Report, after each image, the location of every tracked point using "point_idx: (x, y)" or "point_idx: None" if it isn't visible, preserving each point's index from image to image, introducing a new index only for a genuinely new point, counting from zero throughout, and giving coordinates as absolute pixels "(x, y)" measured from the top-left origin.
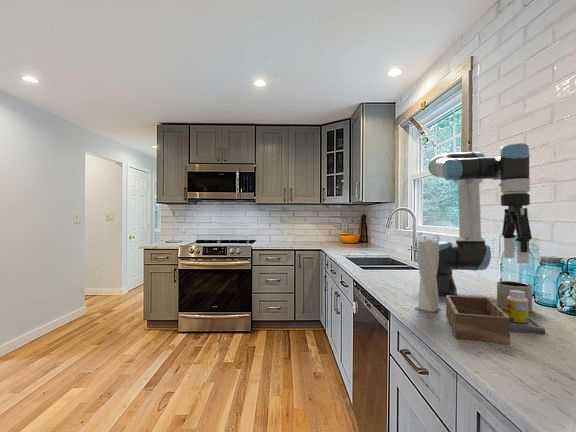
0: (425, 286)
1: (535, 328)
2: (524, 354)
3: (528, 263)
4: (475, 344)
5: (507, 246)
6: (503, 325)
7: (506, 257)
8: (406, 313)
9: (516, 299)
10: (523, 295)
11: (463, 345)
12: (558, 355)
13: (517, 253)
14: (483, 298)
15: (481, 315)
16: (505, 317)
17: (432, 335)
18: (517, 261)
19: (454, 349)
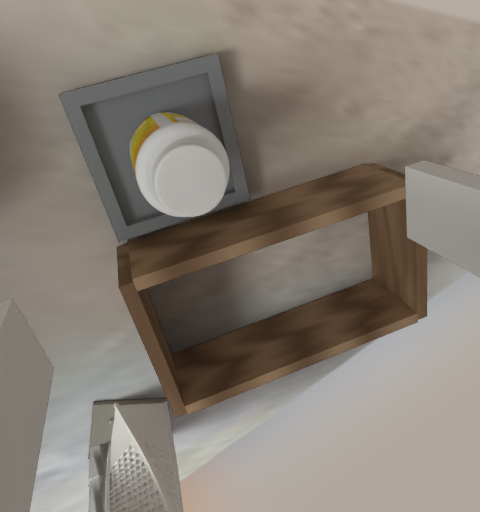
0: (175, 501)
1: (225, 89)
2: (433, 128)
3: (424, 162)
4: None
5: (23, 450)
6: None
7: (48, 359)
8: (220, 441)
9: (228, 175)
10: (210, 149)
11: None
12: (413, 42)
13: (476, 267)
14: (141, 302)
15: (421, 258)
16: None
17: None
18: (420, 239)
19: (449, 267)
